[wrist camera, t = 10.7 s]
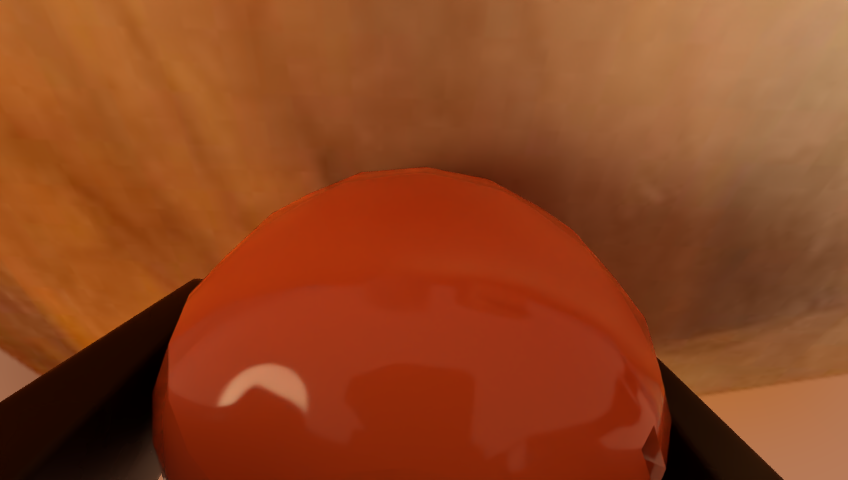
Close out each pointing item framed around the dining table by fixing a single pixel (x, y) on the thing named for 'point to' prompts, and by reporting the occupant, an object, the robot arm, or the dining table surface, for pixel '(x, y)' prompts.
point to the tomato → (410, 346)
